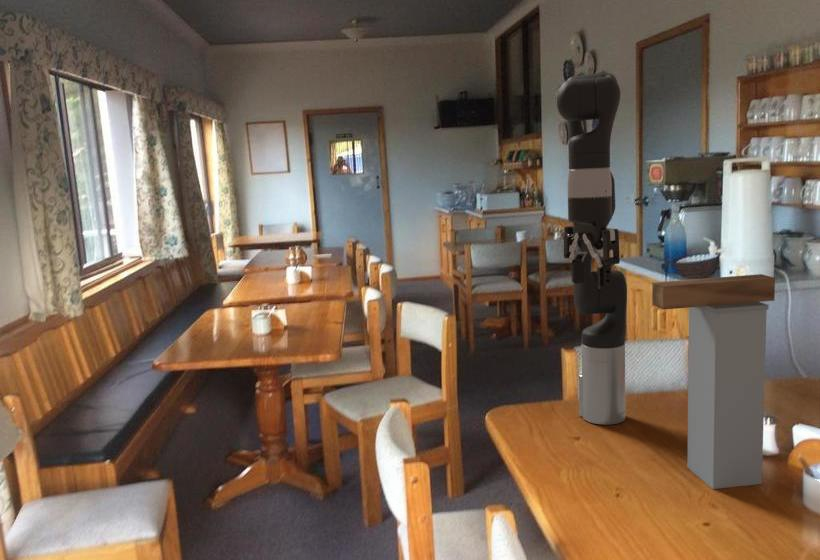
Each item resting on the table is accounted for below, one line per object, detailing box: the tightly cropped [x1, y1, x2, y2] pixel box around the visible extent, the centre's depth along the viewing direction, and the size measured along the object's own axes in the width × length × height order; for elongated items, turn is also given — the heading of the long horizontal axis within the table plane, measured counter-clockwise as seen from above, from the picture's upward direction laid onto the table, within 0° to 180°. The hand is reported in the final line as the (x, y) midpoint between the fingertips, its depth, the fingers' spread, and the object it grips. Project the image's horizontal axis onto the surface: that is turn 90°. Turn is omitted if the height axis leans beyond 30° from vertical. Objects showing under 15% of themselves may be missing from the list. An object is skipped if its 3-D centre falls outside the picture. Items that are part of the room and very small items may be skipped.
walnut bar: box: [651, 273, 776, 311], centre depth 123 cm, size 4×20×4 cm, turn 96°
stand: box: [686, 302, 769, 490], centre depth 127 cm, size 9×9×32 cm
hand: (590, 285), depth 128 cm, fingers open, 8 cm apart
